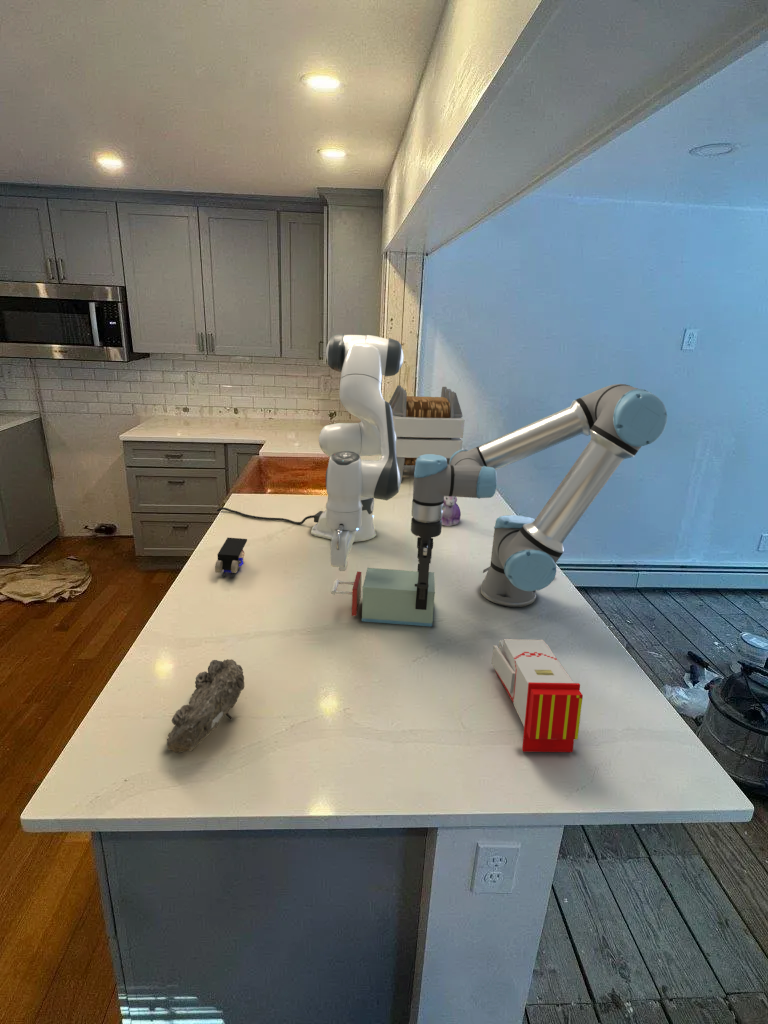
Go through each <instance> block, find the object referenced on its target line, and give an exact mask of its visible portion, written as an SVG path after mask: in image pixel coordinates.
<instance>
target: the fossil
mask: <svg viewBox="0 0 768 1024" xmlns="http://www.w3.org/2000/svg"><path fill="white" fill-rule="evenodd" d="M243 670H244V669H243V667H242V665H240V664H237V662H236V661H235V660H234V659H232V658H231V659H227V658H226V659H224V660H223V661H222V660H217V659H212V660H211V661H210V663H209V665H208V666H207V671H201V672H199V673H198V674H197V675H196V676H195V680H194V684H195V685H194V687H195V689H194V690H193V693H192V694H191V697H190V698H189V700H188V704H184V705H182V706H181V707H180V709H177V710H176V711H175V713H174V715H173V716H172V718H171V723H172V724H173V727H172V730H171V731H170V732H168V734H167V738H166V741H167V742H166V745H167V749H168V750H169V751H173V752H174V753H176V754H178V753H182V752H188V751H189V752H192V751H193V750H195V748H196V747H197V746H199V744H200V743H201V742H203V741H204V740H205V739H206V738H207V737H208V736H209V735H210V734H211V733H212V732H214V730H215V729H217V727H218V726H219V724H220V722H221V721H222V720H223V719H224V718H225V716H226V717H227V719H229V720H233V717H232V715H230V714H229V710H230V709H231V708H234V706H235V704H236V703H237V702H238V699H239V697H240V695H241V693H242V691H243V690H245V689H244V688H245V675H244V671H243Z"/></svg>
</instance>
